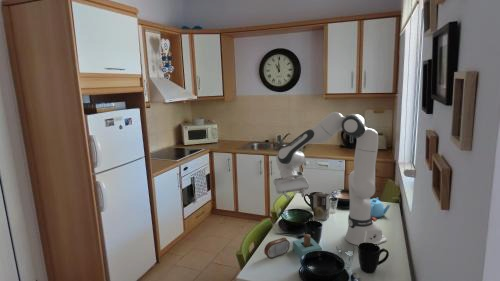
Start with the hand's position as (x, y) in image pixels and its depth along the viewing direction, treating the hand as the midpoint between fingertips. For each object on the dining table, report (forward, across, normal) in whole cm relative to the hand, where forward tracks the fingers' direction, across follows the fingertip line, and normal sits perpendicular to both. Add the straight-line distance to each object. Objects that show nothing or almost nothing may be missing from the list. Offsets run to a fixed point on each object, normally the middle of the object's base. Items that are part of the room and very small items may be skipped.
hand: (296, 197), depth 181 cm
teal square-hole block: (+30, -4, +3) cm, 31 cm away
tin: (+28, -19, +5) cm, 34 cm away
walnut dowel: (+30, -4, +3) cm, 31 cm away
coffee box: (+5, +26, +28) cm, 39 cm away
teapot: (+11, +62, +24) cm, 67 cm away
